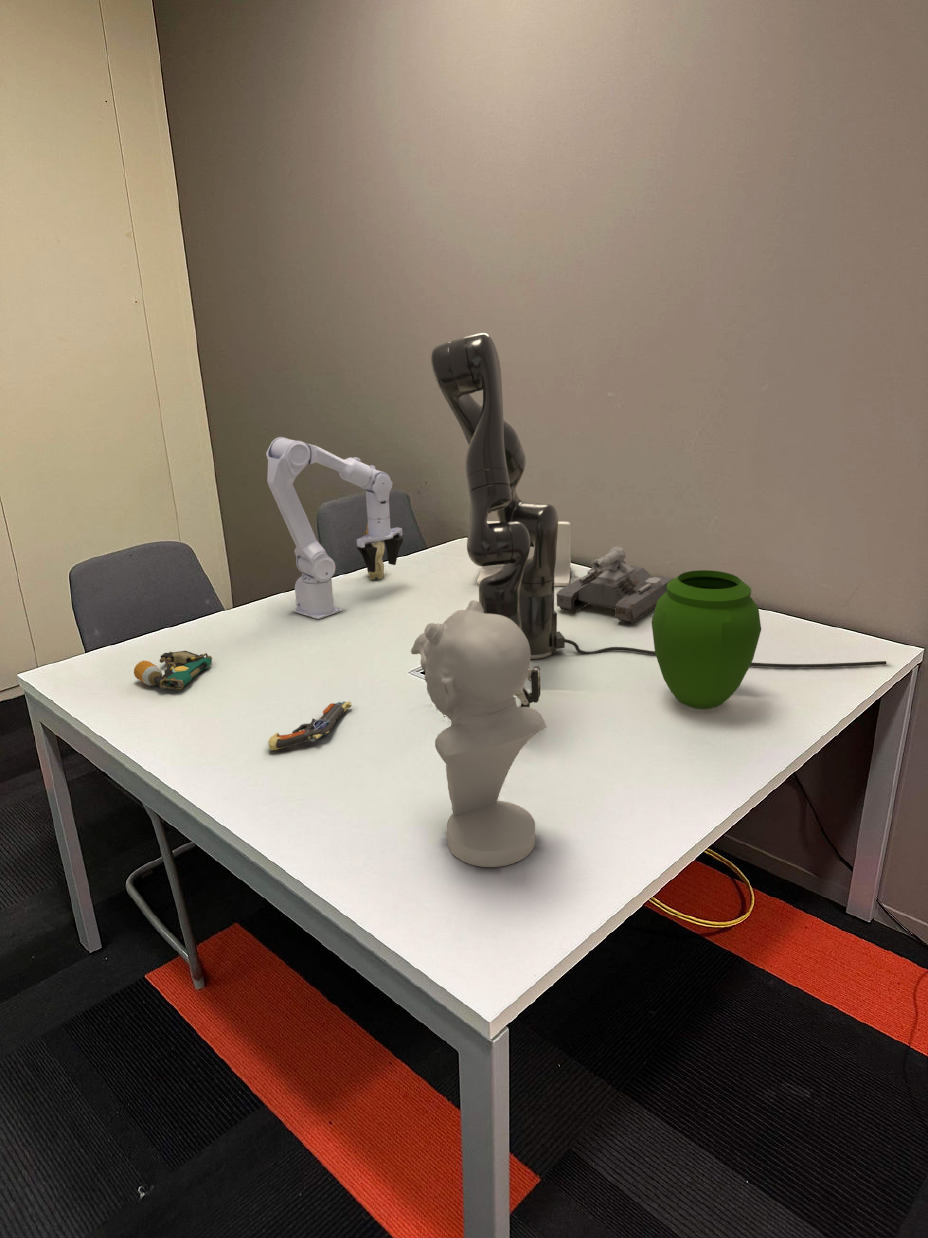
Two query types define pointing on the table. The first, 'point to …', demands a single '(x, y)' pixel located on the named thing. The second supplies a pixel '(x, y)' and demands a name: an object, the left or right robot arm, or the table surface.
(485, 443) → the right robot arm
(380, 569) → the sculpture
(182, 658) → the spray gun
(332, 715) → the toy gun
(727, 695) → the vase
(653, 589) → the toy
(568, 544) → the tablet stand
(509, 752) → the bust sculpture
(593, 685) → the table surface
